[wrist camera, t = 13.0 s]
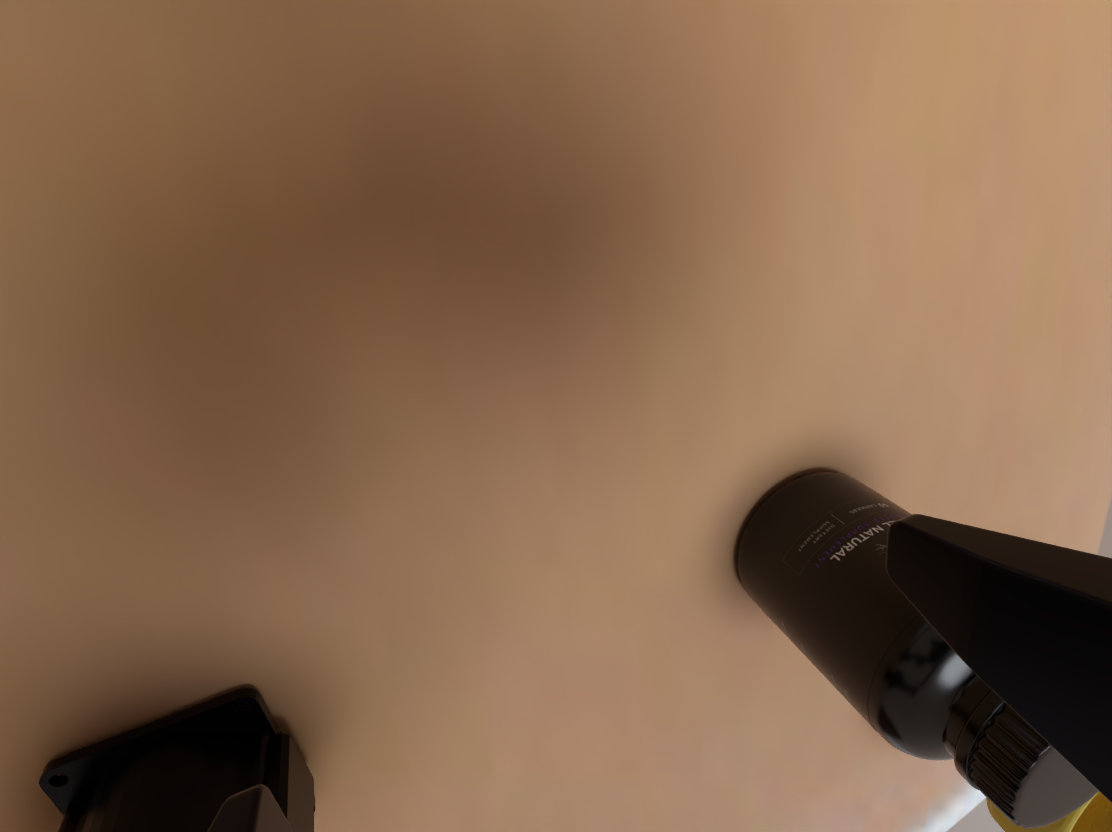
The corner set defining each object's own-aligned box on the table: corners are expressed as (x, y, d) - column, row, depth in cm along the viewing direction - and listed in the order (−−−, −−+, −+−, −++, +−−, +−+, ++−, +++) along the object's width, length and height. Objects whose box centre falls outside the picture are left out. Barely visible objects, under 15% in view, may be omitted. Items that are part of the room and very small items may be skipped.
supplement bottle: (797, 440, 26) (1123, 636, 16) (886, 501, 29) (1206, 697, 19) (700, 575, 27) (947, 845, 17) (797, 619, 30) (1054, 868, 20)
